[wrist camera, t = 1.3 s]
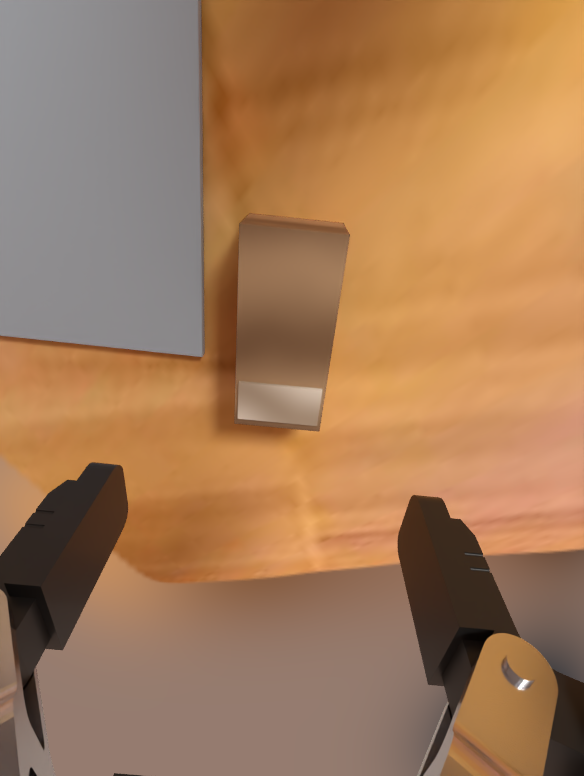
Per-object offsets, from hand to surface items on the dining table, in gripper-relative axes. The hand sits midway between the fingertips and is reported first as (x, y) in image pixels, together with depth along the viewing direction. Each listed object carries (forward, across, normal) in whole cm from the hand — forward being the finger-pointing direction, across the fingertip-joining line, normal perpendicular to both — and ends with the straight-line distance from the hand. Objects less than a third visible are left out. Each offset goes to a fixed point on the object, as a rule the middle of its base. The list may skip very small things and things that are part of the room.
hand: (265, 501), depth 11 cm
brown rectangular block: (+15, 0, 0) cm, 15 cm away
